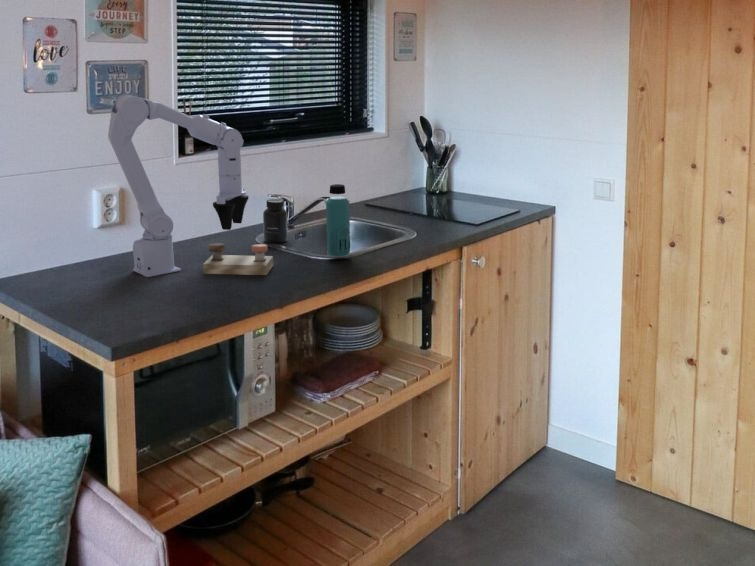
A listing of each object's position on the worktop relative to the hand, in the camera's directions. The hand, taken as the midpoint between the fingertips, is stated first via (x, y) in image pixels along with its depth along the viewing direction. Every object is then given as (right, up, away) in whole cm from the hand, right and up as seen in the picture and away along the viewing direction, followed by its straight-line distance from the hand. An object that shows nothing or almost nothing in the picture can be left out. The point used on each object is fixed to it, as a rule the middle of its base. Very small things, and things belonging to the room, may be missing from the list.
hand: (232, 226), depth 223 cm
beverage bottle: (+28, -8, +6) cm, 29 cm away
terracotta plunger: (+8, -9, -6) cm, 13 cm away
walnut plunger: (-3, -9, -5) cm, 10 cm away
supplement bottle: (+9, -3, +24) cm, 26 cm away
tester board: (+3, -11, -5) cm, 13 cm away
